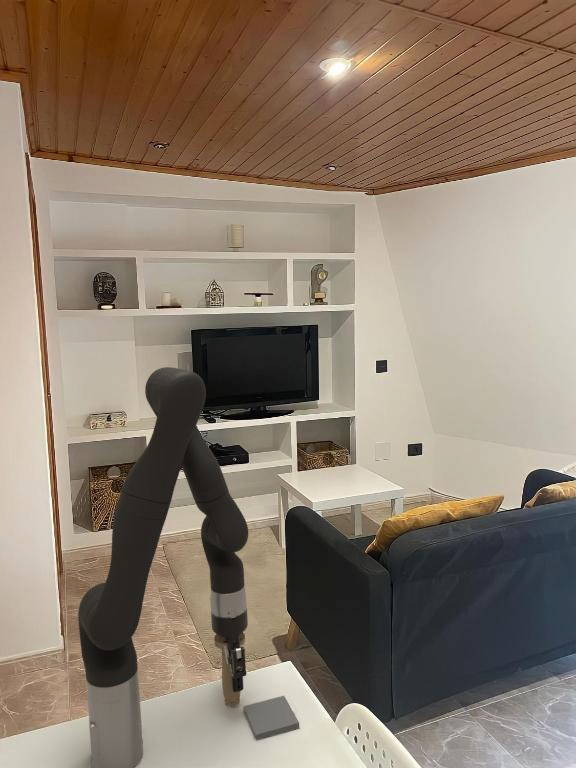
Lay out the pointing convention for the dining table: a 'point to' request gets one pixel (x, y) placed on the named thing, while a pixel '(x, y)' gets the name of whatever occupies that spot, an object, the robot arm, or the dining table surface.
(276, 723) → the plate
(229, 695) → the handle
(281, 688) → the dining table surface
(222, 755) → the dining table surface
